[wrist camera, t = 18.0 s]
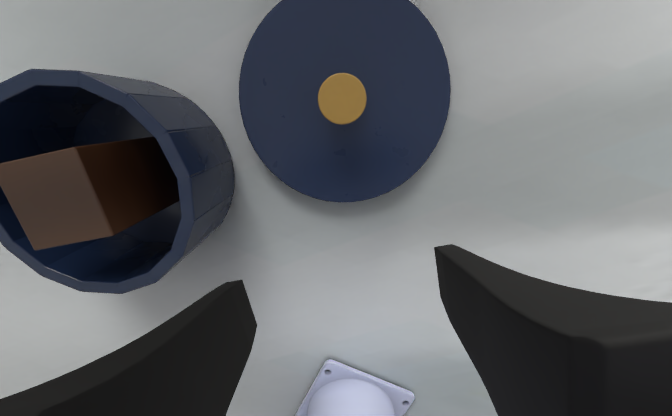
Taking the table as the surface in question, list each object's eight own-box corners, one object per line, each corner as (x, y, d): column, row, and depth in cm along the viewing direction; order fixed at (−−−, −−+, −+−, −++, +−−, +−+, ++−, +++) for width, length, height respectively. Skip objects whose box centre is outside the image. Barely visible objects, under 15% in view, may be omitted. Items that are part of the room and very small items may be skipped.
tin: (205, 272, 23) (159, 323, 18) (55, 209, 22) (-45, 242, 17) (258, 129, 20) (223, 137, 14) (85, 49, 19) (-26, 22, 13)
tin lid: (386, 226, 22) (395, 253, 18) (218, 150, 21) (186, 160, 16) (485, 46, 18) (525, 27, 14) (288, -57, 17) (269, -111, 13)
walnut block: (187, 196, 21) (113, 236, 14) (131, 208, 22) (33, 251, 15) (165, 134, 20) (73, 146, 13) (106, 147, 20) (-12, 165, 14)
